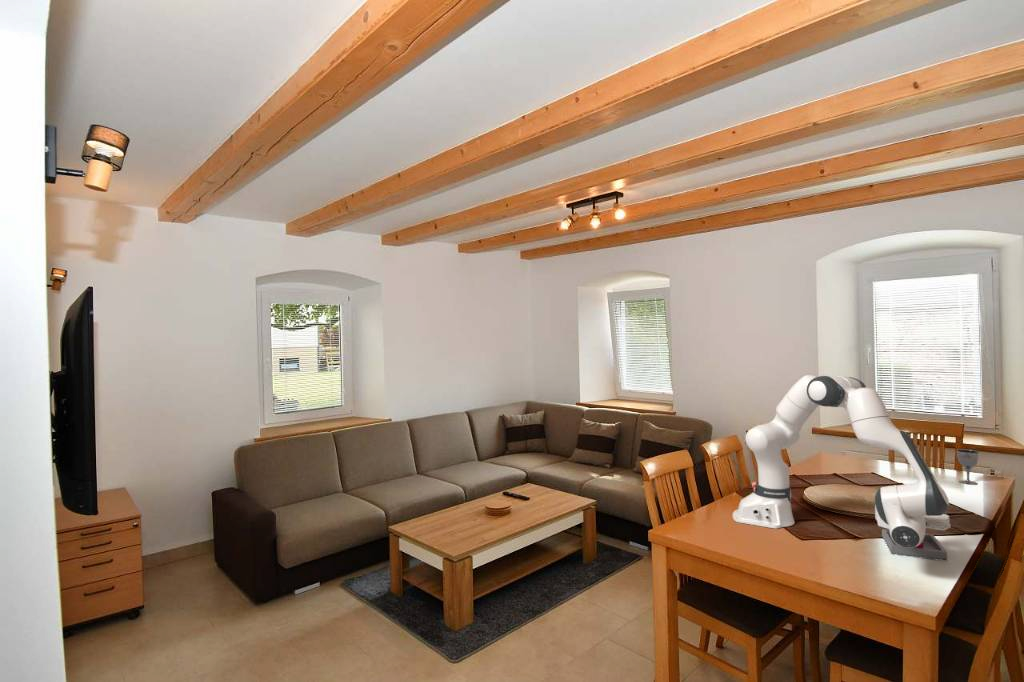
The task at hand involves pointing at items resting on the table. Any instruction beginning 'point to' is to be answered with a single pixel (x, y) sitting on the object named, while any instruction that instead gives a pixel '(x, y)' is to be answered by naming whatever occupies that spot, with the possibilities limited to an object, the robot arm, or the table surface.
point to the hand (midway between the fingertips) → (912, 509)
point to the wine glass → (968, 462)
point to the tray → (929, 550)
